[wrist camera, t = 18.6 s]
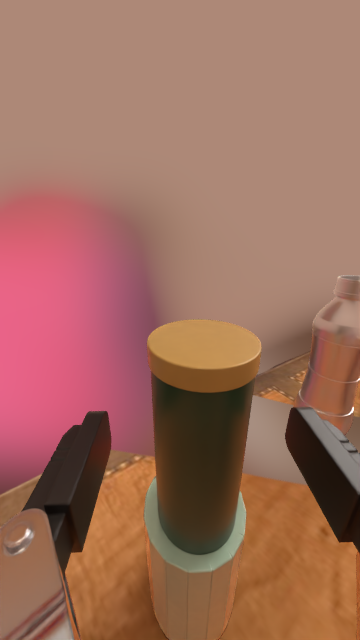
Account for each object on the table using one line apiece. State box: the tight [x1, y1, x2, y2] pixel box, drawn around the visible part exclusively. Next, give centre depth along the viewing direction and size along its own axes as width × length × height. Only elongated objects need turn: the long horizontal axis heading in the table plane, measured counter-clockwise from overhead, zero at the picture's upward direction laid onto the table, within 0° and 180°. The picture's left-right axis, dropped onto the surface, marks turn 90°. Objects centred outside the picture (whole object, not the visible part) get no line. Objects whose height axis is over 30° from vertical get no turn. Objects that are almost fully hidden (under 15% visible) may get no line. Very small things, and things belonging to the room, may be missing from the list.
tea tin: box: [147, 319, 262, 555], centre depth 12 cm, size 5×5×11 cm
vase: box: [144, 476, 246, 640], centre depth 15 cm, size 6×6×9 cm
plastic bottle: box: [294, 275, 360, 435], centre depth 27 cm, size 6×7×20 cm
